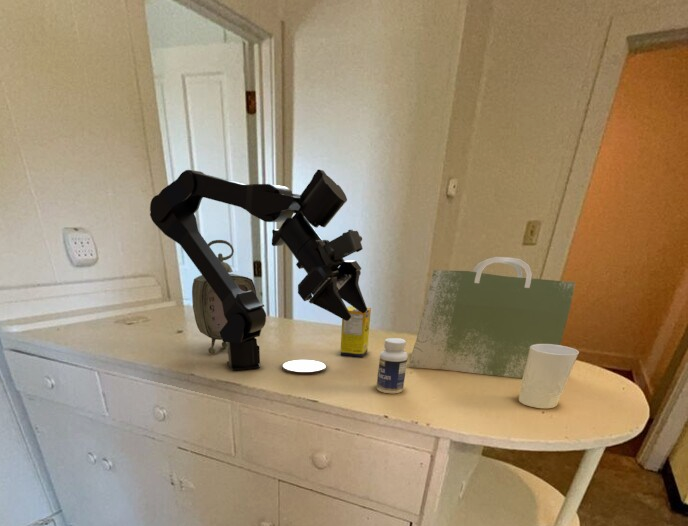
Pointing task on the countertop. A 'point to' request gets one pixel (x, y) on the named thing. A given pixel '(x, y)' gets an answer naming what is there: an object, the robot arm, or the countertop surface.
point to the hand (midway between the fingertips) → (357, 315)
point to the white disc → (304, 367)
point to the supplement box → (355, 333)
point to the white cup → (546, 374)
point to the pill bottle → (392, 366)
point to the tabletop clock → (214, 301)
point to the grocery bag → (489, 319)
